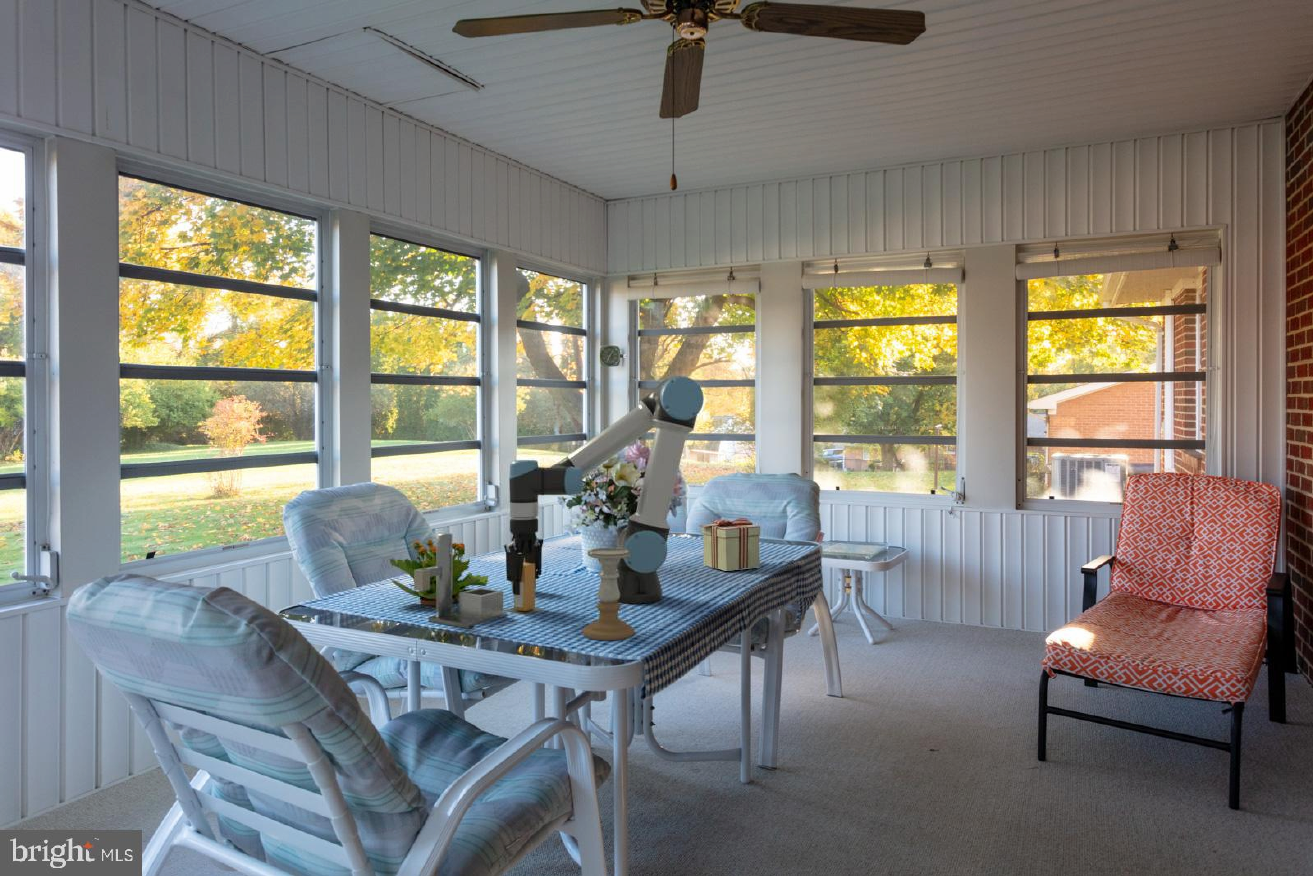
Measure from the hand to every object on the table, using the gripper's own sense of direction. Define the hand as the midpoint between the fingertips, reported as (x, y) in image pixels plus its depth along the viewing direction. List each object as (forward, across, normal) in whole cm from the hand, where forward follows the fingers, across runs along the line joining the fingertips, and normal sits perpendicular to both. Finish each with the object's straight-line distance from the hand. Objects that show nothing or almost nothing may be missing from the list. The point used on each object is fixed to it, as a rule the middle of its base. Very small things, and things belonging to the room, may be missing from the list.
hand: (524, 604), depth 223 cm
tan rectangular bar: (+1, 0, 0) cm, 1 cm away
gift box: (+3, -91, +15) cm, 92 cm away
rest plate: (+2, 0, 0) cm, 2 cm away
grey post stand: (+2, +17, -7) cm, 18 cm away
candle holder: (+2, +6, +32) cm, 32 cm away
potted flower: (+2, +5, -28) cm, 29 cm away
